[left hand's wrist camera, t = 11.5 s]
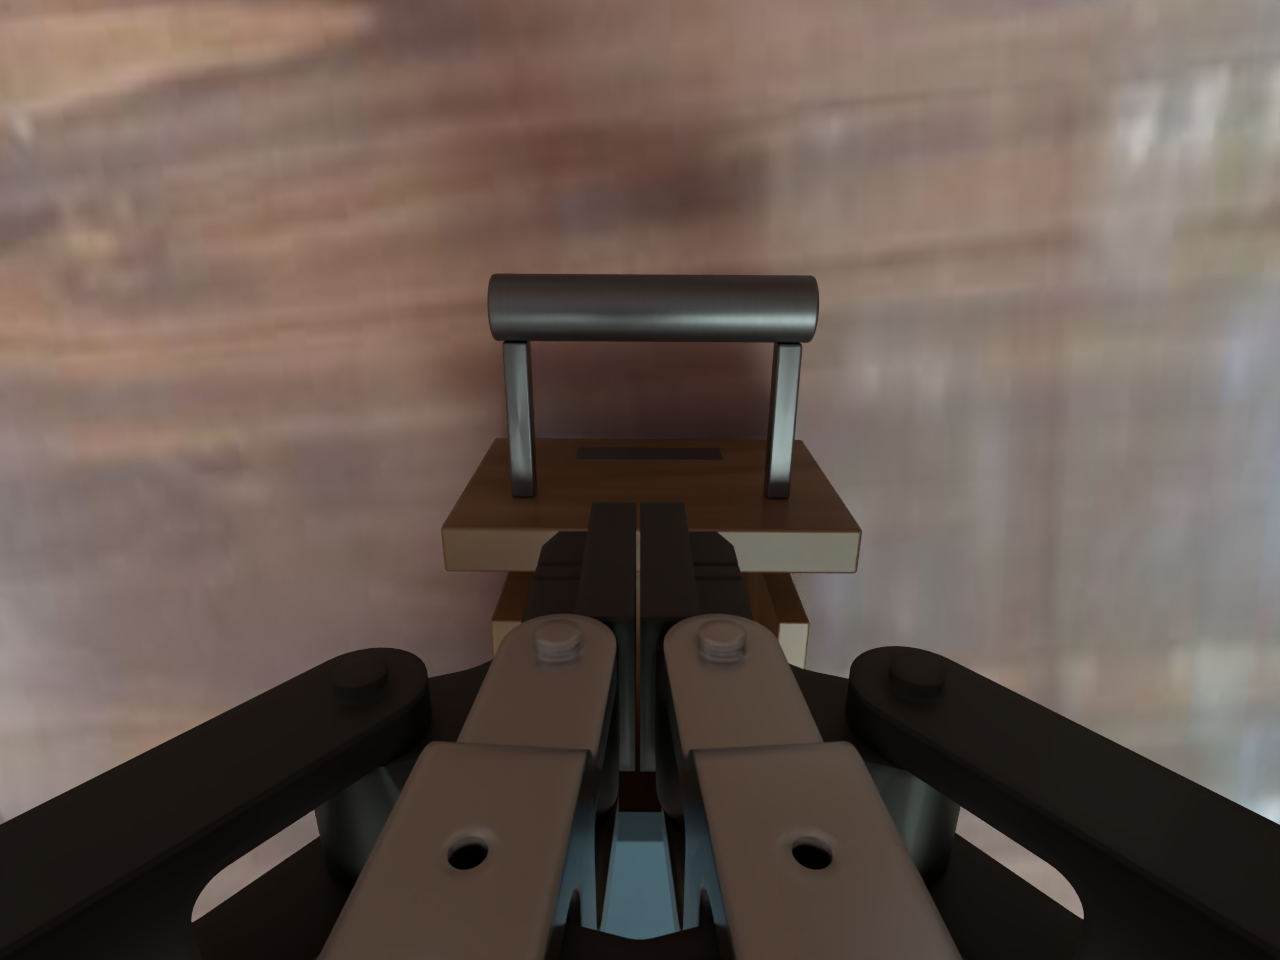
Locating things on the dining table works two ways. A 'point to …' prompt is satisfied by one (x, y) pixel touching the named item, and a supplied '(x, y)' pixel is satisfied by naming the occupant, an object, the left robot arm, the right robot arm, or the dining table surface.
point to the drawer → (655, 453)
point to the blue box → (639, 880)
